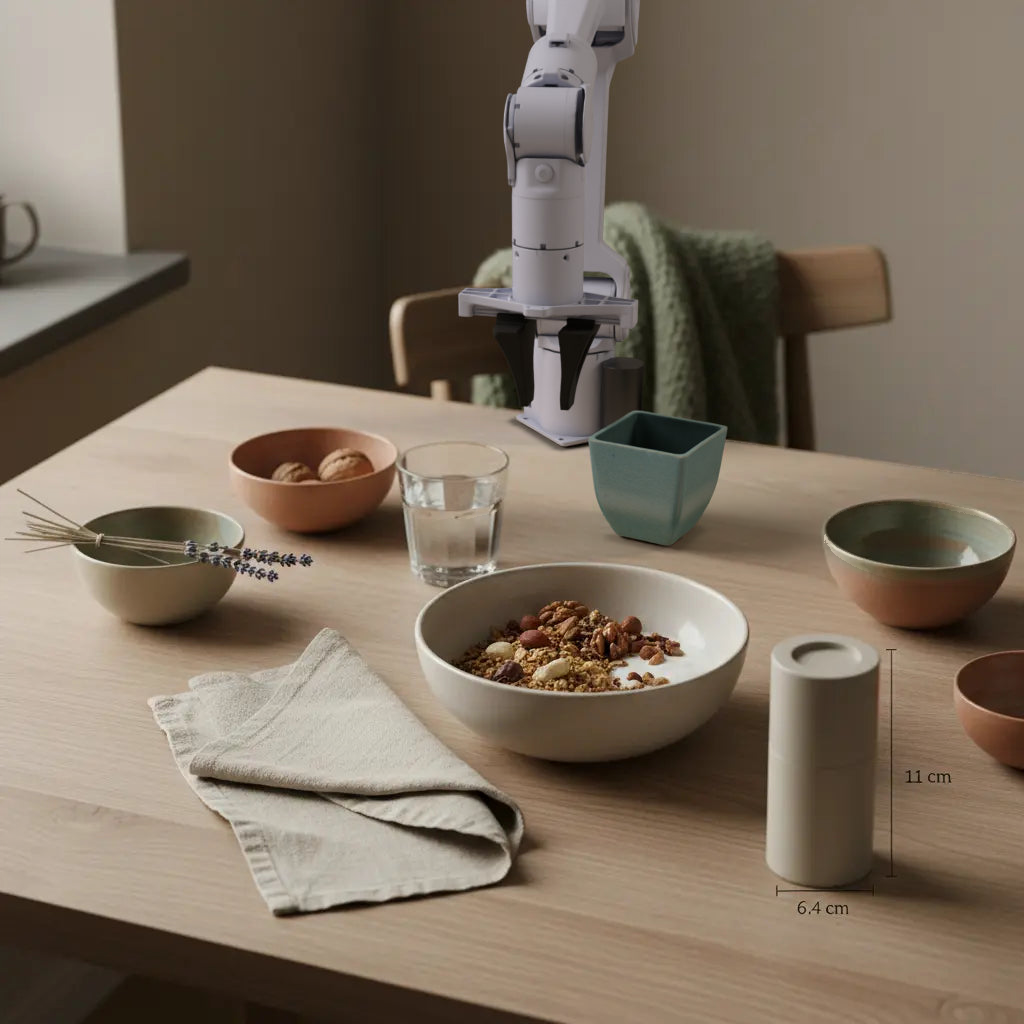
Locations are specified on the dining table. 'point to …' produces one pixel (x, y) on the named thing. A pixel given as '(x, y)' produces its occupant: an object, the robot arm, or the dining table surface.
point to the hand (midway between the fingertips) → (546, 404)
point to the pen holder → (620, 388)
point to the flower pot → (655, 473)
